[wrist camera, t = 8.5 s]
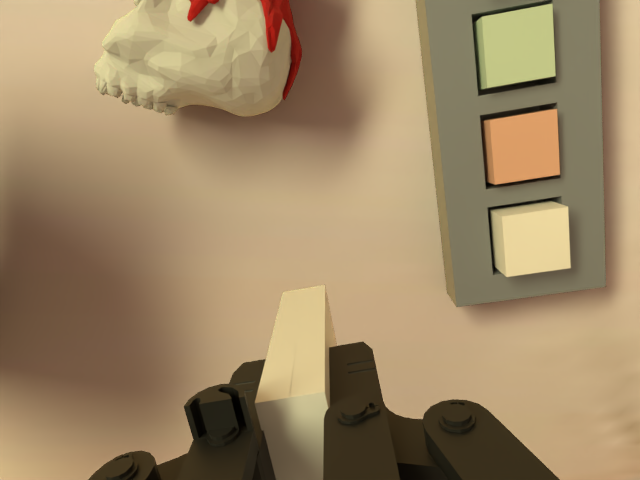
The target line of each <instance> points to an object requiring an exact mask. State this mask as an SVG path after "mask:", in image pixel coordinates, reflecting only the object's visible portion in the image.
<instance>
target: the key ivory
mask: <svg viewBox="0 0 640 480" xmlns="http://www.w3.org/2000/svg"><path fill="white" fill-rule="evenodd" d="M490 217H491V230H492V242H493V254H494V266H495V267H496V268H497V269H498V270H499V271H500V272H501V273H502V274H504V275H505V276H506V277H511V276H518V275H525V274H532V273H539V272H546V271H554V270H561V269H568V268H571V265H570V241H569V216H568V206H565V205H562V204H559V203H556V202H553V201H546V202H540V203H533V204H526V205H520V206H513V207H507V208H500V209H493V210H490Z"/></svg>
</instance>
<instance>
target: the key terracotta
mask: <svg viewBox="0 0 640 480" xmlns="http://www.w3.org/2000/svg"><path fill="white" fill-rule="evenodd" d="M480 124H481V136H482V149H483V161H484V173H485V181H486V182H489V183H492V184H494V185H496V184H502V183H509V182H515V181H522V180H528V179H534V178H541V177H547V176H554V175H560V163H559V141H558V118H557V109H550V110H540V111H534V112H528V113H522V114H516V115H510V116H504V117H498V118H492V119H486V120H481V121H480Z"/></svg>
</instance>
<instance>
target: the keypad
mask: <svg viewBox="0 0 640 480" xmlns="http://www.w3.org/2000/svg"><path fill="white" fill-rule="evenodd" d="M547 4H552V5H553V27H554V50H555V73H556V76H554V77H550V78H545V79H541V80H537V81H531V82H525V83H519V84H514V85H508V86H502V87H496V88H491V89H485V90H479V91H478V88H477V76H476V63H475V51H474V39H473V27H472V24H473V23H475V22H476V21H477V20H478V19H480V18H481V17H483V16H489V15H494V14H499V13H505V12H510V11H515V10H521V9H526V8H531V7H537V6H542V5H547ZM416 8H417V17H418V27H419V36H420V45H421V55H422V64H423V73H424V82H425V92H426V101H427V110H428V120H429V129H430V138H431V147H432V157H433V166H434V175H435V185H436V194H437V203H438V212H439V222H440V231H441V240H442V250H443V259H444V268H445V277H446V287H447V293H448V295H449V296H450V298H451V299H452V301H453V302H454V304H455V305H456V307H461V306H468V305H476V304H483V303H490V302H498V301H505V300H513V299H520V298H528V297H535V296H542V295H550V294H557V293H565V292H572V291H579V290H587V289H594V288H602V287H606V272H605V226H604V181H603V136H602V90H601V45H600V0H416ZM550 109H557V118H558V141H559V163H560V175H554V176H547V177H541V178H534V179H528V180H522V181H515V182H509V183H502V184H496V185H494V184H492V183H489V182H486V181H485V173H484V161H483V149H482V136H481V124H480V121H481V120H486V119H492V118H498V117H504V116H510V115H516V114H522V113H528V112H534V111H540V110H550ZM546 201H553V202H556V203H559V204H562V205H565V206H568V216H569V241H570V265H571V268H568V269H561V270H554V271H546V272H539V273H532V274H525V275H518V276H511V277H506V276H505V275H504V274H502V273H501V272H500V271H499V270H498V269H497V268H496V267H495V266H494V254H493V242H492V230H491V217H490V210H493V209H500V208H507V207H513V206H520V205H526V204H533V203H540V202H546Z"/></svg>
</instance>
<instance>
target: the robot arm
mask: <svg viewBox="0 0 640 480" xmlns="http://www.w3.org/2000/svg"><path fill="white" fill-rule="evenodd" d="M184 409H185V412H186V416H187V419H188V422H189V426H190V429H191V433H192V436H193V439H194V440H193V442H192V445H191V447H190V450H189V452H188V453H187V454H185V455H182V456H180V457H178V458H175V459H173V460H170V461H167V462H165V463H162V464H160V465H156V462H155V458H154V457H153V456H152V455H151V454H150V453H149V452H144V451H135V452H129V453H126V454H124V455H120V456H118V457H116V458H114V459H113V460H111V461H109V462H108V463H106V464H104V465H103V466H102V467H101V468H100V469H99V470H98V471H96V472H95V473H94V474H93V475H92V476H91V477H90V479H89V480H560V479H559V478H558V477H556V476H555V475H554V474H553V473H552V472H551V471H550V470H549V469H548V468H547V467H546V466H545V465H544V464H543V463H542V462H541V461H540V460H539V459H538V458H537V457H536V456H535V455H534V454H533V453H532V452H531V451H530V450H529V449H528V448H526V447H525V446H524V445H523V444H522V443H521V442H520V441H519V440H518V439H517V438H516V437H515V436H514V435H513V434H512V433H511V432H510V431H509V430H508V429H507V428H506V427H505V426H504V425H503V424H502V423H501V422H500V421H499V420H498V419H496V418H495V417H494V416H493V415H492V414H491V413H490V412H489V411H488V410H487V409H485V408H484V407H482V406H481V405H479V404H477V403H474V402H471V401H467V400H454V399H453V400H448V401H442V402H439V403H437V404H435V405H433V406H431V407H430V408H429V409H428V410H427V411H426V412H425V414H424V418H423V420H422V419H411V418H404V417H402V416H399V415H396V414H394V413H393V412H391V411H389V409H388V408H387V407H386V406H385V404H384V402H383V398H382V394H381V389H380V384H379V379H378V374H377V370H376V365H375V360H374V355H373V351H372V349H371V348H370V347H369V346H368V345H367V344H365V343H364V342H358V343H352V344H346V345H340V346H337V343H336V338H335V333H334V328H333V323H332V318H331V313H330V308H329V303H328V298H327V293H326V287H325V285H320V286H315V287H309V288H303V289H298V290H292V291H286V292H283V294H282V298H281V302H280V306H279V310H278V314H277V317H276V321H275V325H274V329H273V333H272V337H271V341H270V345H269V349H268V353H267V357H266V359H264V360H258V361H252V362H246V363H243V364H242V365H241V366H240V367H239V368H238V369H237V370H236V371H235V372H234V373H233V375H232V378H231V380H230V383H229V384H220V385H216V386H213V387H209V388H207V389H205V390H203V391H201V392H199V393H197V394H196V395H194V396H193V397H192V398H190V399H189V400H188V402H187V403H186V404H185V406H184Z"/></svg>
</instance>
